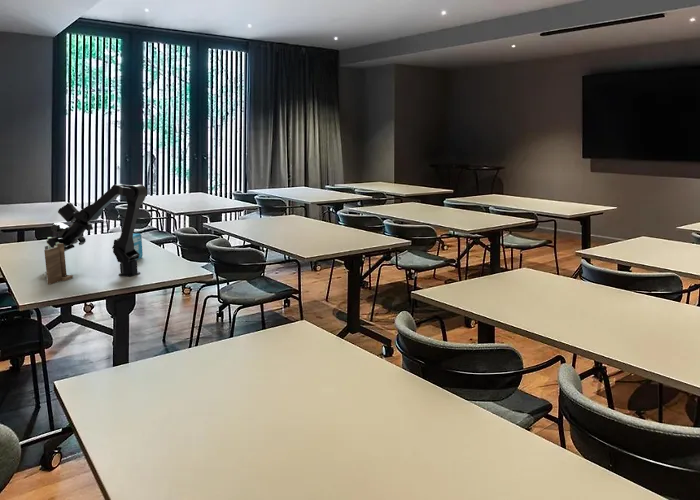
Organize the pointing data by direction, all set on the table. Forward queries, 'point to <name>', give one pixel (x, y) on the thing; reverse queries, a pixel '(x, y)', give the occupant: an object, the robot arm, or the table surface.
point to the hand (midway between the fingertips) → (56, 254)
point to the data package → (138, 244)
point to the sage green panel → (49, 245)
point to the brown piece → (56, 264)
